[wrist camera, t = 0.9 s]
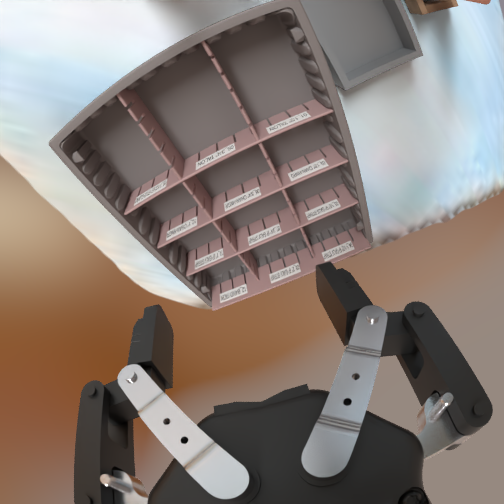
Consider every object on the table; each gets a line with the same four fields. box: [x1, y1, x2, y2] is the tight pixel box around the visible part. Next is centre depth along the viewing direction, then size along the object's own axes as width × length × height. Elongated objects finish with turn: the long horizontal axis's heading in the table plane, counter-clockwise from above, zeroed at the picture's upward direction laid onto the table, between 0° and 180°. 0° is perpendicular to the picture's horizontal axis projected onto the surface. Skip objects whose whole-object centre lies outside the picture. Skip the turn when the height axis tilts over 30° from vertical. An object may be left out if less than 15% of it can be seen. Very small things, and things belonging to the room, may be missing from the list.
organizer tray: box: [49, 0, 373, 311], centre depth 37 cm, size 32×40×10 cm
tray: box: [300, 0, 423, 91], centre depth 23 cm, size 20×14×4 cm
